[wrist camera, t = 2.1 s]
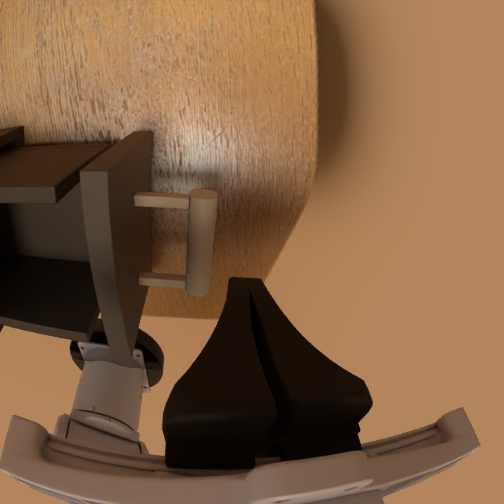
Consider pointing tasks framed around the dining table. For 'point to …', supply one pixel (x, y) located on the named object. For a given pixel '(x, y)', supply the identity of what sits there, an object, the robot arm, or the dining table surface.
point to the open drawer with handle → (90, 239)
